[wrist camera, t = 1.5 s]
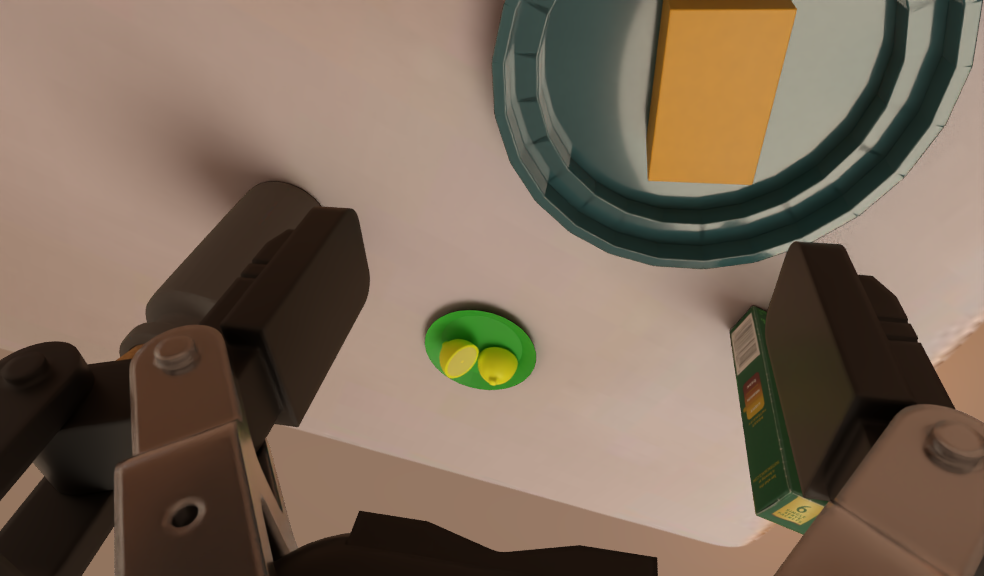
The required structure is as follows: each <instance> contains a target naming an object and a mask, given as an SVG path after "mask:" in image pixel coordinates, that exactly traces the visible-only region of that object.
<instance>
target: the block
mask: <svg viewBox="0 0 984 576" xmlns="http://www.w3.org/2000/svg"><path fill="white" fill-rule="evenodd" d="M796 12H797V8H796V7H795V5H794V4H793V2H792V1H791V0H663V6H662V14H661V22H660V31H659V39H658V47H657V56H656V64H655V72H654V81H653V89H652V97H651V105H650V114H649V122H648V130H647V139H646V149H647V173H648V181H664V182H689V183H714V184H739V185H752V184H753V180H754V176H755V172H756V168H757V164H758V161H759V157H760V153H761V149H762V145H763V141H764V137H765V133H766V129H767V125H768V121H769V118H770V114H771V110H772V106H773V102H774V98H775V94H776V90H777V86H778V82H779V78H780V75H781V71H782V67H783V63H784V59H785V55H786V51H787V47H788V43H789V39H790V35H791V32H792V28H793V24H794V20H795V16H796Z"/></svg>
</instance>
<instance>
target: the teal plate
mask: <svg viewBox="0 0 984 576" xmlns="http://www.w3.org/2000/svg"><path fill="white" fill-rule="evenodd" d="M791 1H792V2H793V4H794V5H795V7H796V8H797V12H796V16H795V20H794V24H793V28H792V32H791V35H790V39H789V43H788V47H787V51H786V55H785V59H784V63H783V67H782V71H781V75H780V78H779V82H778V86H777V90H776V94H775V98H774V102H773V106H772V110H771V114H770V118H769V121H768V125H767V129H766V133H765V137H764V141H763V145H762V149H761V153H760V157H759V161H758V164H757V168H756V172H755V176H754V180H753V184H752V185H739V184H714V183H689V182H664V181H648V173H647V149H646V139H647V130H648V122H649V114H650V105H651V97H652V89H653V81H654V72H655V64H656V56H657V47H658V39H659V31H660V22H661V14H662V6H663V0H505V1H504V4H503V9H502V14H501V19H500V23H499V28H498V33H497V38H496V42H495V47H494V52H493V57H492V79H493V98H494V114H495V118H496V121H497V124H498V127H499V131H500V134H501V137H502V140H503V143H504V146H505V149H506V152H507V155H508V158H509V161H510V163H511V165H512V166H513V168H514V169H515V171H516V172H517V174H518V175H519V177H520V178H521V180H522V182H523V183H524V185H525V186H526V188H527V189H528V191H529V192H530V194H531V195H532V197H533V198H534V200H535V201H536V202H537V203H538V204H539V205H540V206H541V207H542V208H543V209H544V210H546V211H547V212H548V213H549V214H550V215H551V216H552V217H553V218H554V219H556V220H557V221H558V222H559V223H560V224H561V225H562V226H563V227H564V228H566V229H567V230H568V231H570V233H572V234H574V235H576V236H577V237H579V238H581V239H583V240H585V241H587V242H589V243H590V244H592V245H594V246H596V247H598V248H600V249H602V250H603V251H605V252H607V253H610V254H612V255H616V256H619V257H623V258H627V259H630V260H634V261H637V262H641V263H645V264H648V265H652V266H660V267H676V268H692V269H703V268H704V269H710V268H718V267H725V266H733V265H740V264H748V263H754V262H758V261H761V260H764V259H767V258H770V257H773V256H776V255H779V254H782V253H785V252H787V251H788V249H789V247H790V245H791V244H792V243H793V242H794V241H799V242H814V241H815V240H817V239H819V238H821V237H823V236H824V235H826V234H828V233H830V232H832V231H833V230H835V229H837V228H839V227H841V226H842V225H844V224H846V223H848V222H850V221H851V220H853V219H855V218H857V216H860V215H861V214H862V213H863V212H864V211H866V210H867V209H868V208H869V207H870V206H872V205H873V204H874V203H875V202H876V201H877V200H879V199H880V198H881V197H882V196H883V195H885V194H886V193H887V192H888V191H889V190H891V189H892V188H893V187H894V186H895V185H896V184H898V183H899V182H900V181H901V180H902V179H904V176H906V175H907V174H908V173H909V171H910V170H911V169H912V168H913V166H914V165H915V164H916V163H917V161H918V160H919V159H920V157H921V156H922V155H923V154H924V152H925V151H926V150H927V148H928V147H929V146H930V145H931V143H932V142H933V141H934V139H935V138H936V137H937V136H938V134H939V133H940V132H941V130H942V129H943V128H944V126H945V125H946V123H947V121H948V119H949V117H950V114H951V112H952V110H953V108H954V106H955V103H956V101H957V99H958V97H959V95H960V93H961V90H962V88H963V86H964V84H965V82H966V79H967V77H968V75H969V73H970V71H971V68H972V65H973V60H974V54H975V48H976V41H977V35H978V29H979V22H980V16H981V10H982V3H983V0H791Z"/></svg>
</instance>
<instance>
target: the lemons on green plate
mask: <svg viewBox="0 0 984 576" xmlns="http://www.w3.org/2000/svg"><path fill="white" fill-rule="evenodd" d="M425 347H426V352H427V354H428V356H429V359H430V360H431V362H432V363H433V364H434V366H435V367H436V368H437V369H438V370H439V371H440V372H441V373H443V374H444V375H446V376H447V377H448V378H450V379H452V380H454V381H456V382H458V383H460V384H463V385H465V386H468V387H472V388H477V389H484V390H499V389H505V388H509V387H512V386H515V385H517V384H519V383H521V382H522V381H524V380H525V379H526V378H527V377H528V376H529V375H530V374H531V372H532V371H533V369H534V367H535V363H536V352H535V349H534V345H533V343H532V342H531V340H530V338H529V337H528V336H527V335H526V333H525V332H524V331H523V330H522V329H521V328H519V327H518V326H517V325H515V324H514V323H513V322H511V321H509V320H507V319H505V318H504V317H501V316H498V315H495V314H493V313H488V312H484V311H475V310H465V311H457V312H453V313H449V314H447V315H444V316H442V317H440V318H439V319H438V320H436V321H435V322H434V323H433V324H432V325H431V326H430V328H429V329H428V331H427V334H426V337H425Z"/></svg>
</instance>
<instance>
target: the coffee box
mask: <svg viewBox="0 0 984 576" xmlns="http://www.w3.org/2000/svg"><path fill="white" fill-rule="evenodd" d="M766 316H767V312H766V311H764V310H762V309H760V308H757V307H755V306H752V307H751V308H750V309H749V310H748V312H747V313H746V314H745V315H744V316H743V317H742V318H741V319H740V321H739V322H738V323H737V324H736V325H735V326H734V327H733V328H732V329H731V330H730V338H731V346H732V353H733V360H734V367H735V374H736V380H737V387H738V394H739V401H740V408H741V416H742V422H743V429H744V435H745V443H746V450H747V457H748V464H749V471H750V478H751V485H752V492H753V500H754V506H755V513H756V515H757V516H759V517H761V518H764V519H766V520H769V521H771V522H774V523H776V524H779V525H781V526H784V527H786V528H789V529H791V530H793V531H796V532H798V533H801V534H803V535H804V534H805V532H806V531H807V530H808V528H809V527H810V526H811V524H812V523H813V521H814V520H815V519H816V517H817V516H818V515H819V513H820V512H821V511H822V509H823V508H824V507H825V505H826V504H827V503H828V502H829V501H823V500H816V499H809V498H803V494H802V490H801V486H800V482H799V478H798V474H797V469H796V465H795V461H794V457H793V453H792V449H791V444H790V440H789V436H788V432H787V428H786V424H785V420H784V415H783V411H782V407H781V403H780V399H779V395H778V390H777V386H776V382H775V378H774V374H773V370H772V366H771V361H770V357H769V353H768V349H767V345H766V339H765V323H766Z"/></svg>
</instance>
